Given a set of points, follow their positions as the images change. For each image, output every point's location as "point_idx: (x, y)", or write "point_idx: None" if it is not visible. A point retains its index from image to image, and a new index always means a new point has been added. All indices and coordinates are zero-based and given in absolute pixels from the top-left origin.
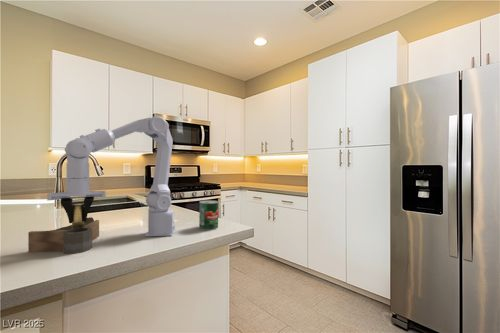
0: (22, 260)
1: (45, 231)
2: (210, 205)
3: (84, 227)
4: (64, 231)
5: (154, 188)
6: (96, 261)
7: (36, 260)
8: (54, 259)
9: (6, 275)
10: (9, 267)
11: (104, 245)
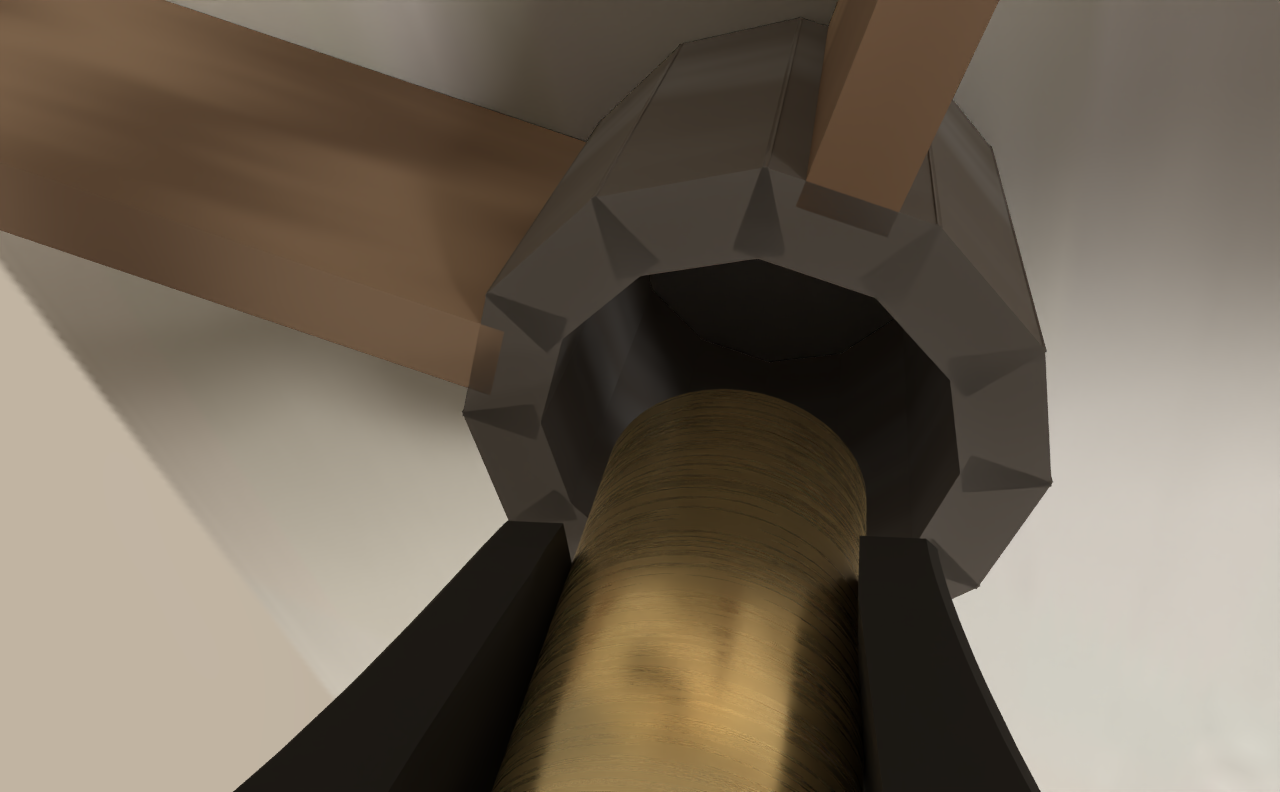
0: (210, 355)
1: (68, 238)
2: None
3: (868, 249)
4: (479, 425)
5: None
6: (1016, 745)
7: (371, 429)
8: None
9: (312, 656)
10: (214, 500)
11: (1232, 213)
